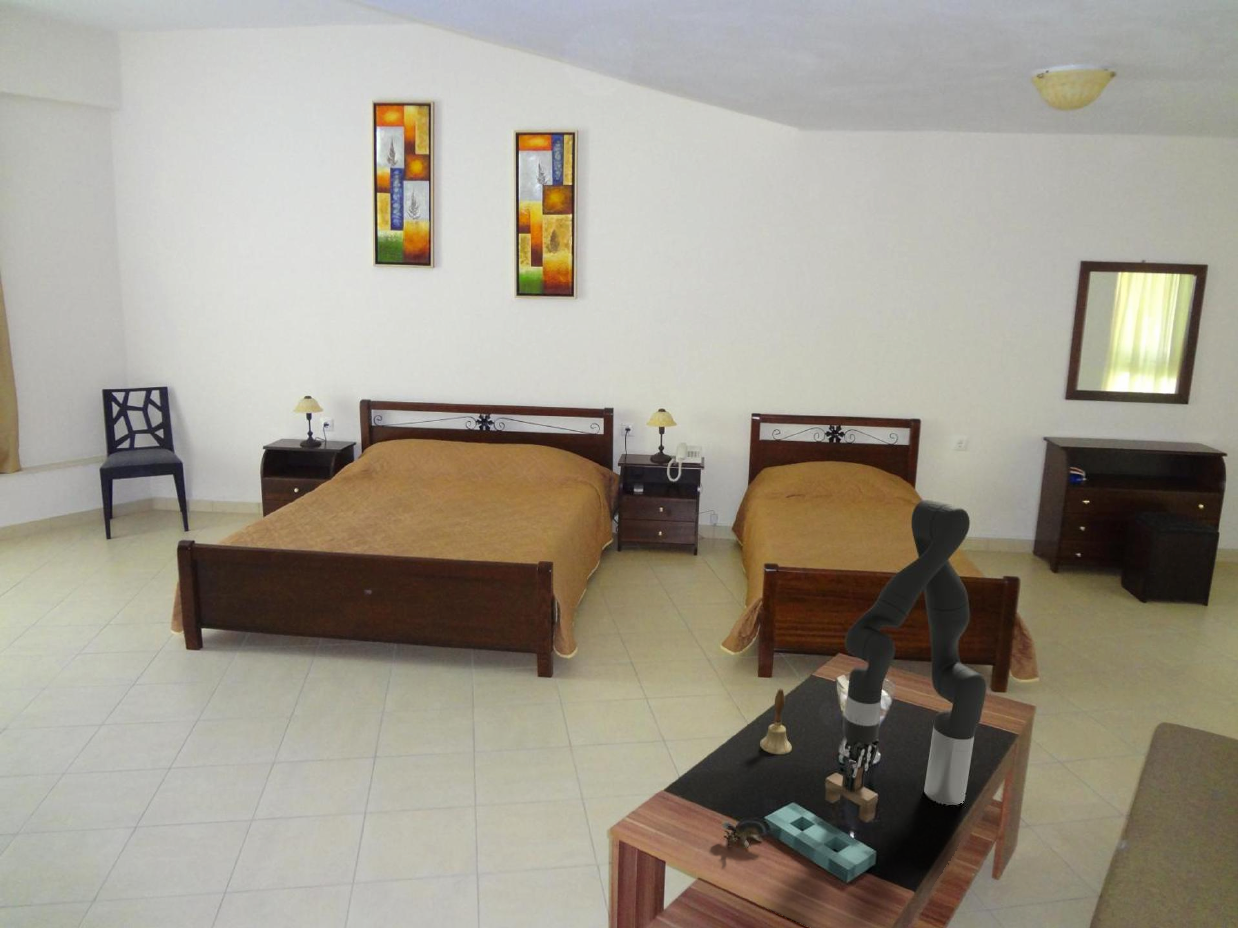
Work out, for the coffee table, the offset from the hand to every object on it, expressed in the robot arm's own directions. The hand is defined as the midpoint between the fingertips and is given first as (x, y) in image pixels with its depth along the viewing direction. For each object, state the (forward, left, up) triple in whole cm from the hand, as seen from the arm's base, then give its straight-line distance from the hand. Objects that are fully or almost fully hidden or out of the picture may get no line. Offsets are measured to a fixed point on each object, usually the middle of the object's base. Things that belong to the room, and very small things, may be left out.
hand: (854, 786), depth 196 cm
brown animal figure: (+24, -10, -11) cm, 28 cm away
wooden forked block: (0, -1, -6) cm, 6 cm away
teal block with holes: (+11, 0, -10) cm, 15 cm away
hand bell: (-15, -33, -11) cm, 38 cm away
